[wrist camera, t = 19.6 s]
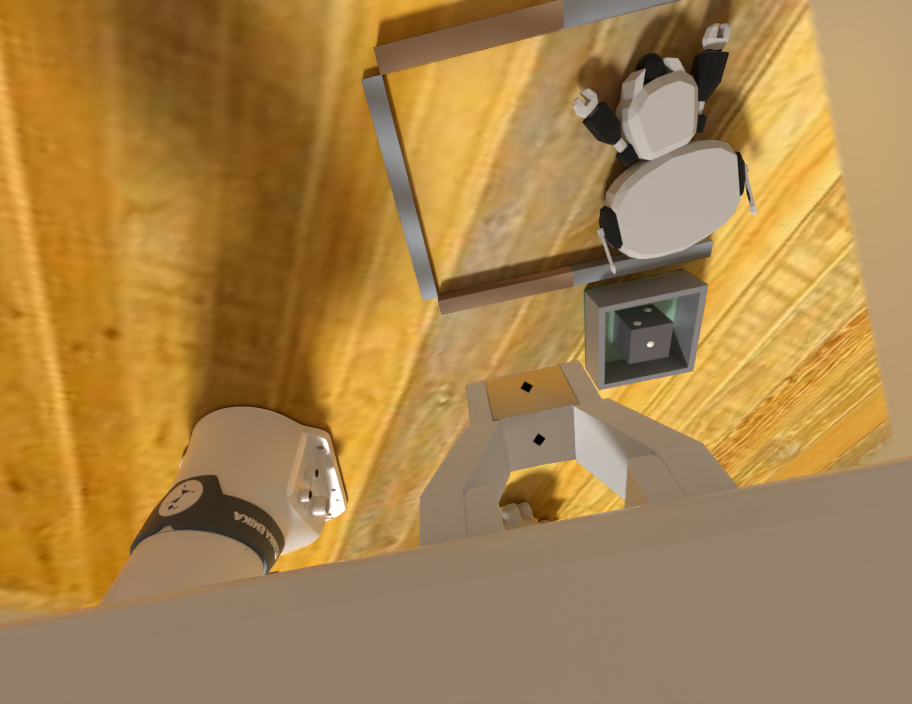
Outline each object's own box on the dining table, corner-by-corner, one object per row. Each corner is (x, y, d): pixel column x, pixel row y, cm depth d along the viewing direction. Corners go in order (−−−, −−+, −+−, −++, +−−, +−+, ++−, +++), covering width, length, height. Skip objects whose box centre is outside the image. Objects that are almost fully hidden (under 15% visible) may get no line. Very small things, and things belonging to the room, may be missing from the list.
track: (700, 251, 38) (710, 256, 36) (426, 311, 39) (426, 318, 38) (746, -46, 26) (762, -53, 25) (355, 54, 27) (352, 52, 26)
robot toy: (553, 100, 31) (598, 267, 38) (570, 94, 27) (617, 282, 34) (710, 20, 29) (727, 212, 36) (753, 1, 25) (764, 221, 32)
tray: (672, 350, 44) (693, 371, 41) (585, 368, 44) (598, 390, 41) (683, 268, 38) (708, 284, 35) (583, 290, 39) (599, 308, 36)
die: (649, 336, 42) (669, 356, 39) (612, 343, 42) (629, 364, 39) (653, 303, 40) (674, 322, 36) (614, 310, 40) (631, 330, 37)
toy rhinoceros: (523, 519, 64) (548, 573, 59) (476, 522, 56) (500, 585, 51) (554, 497, 61) (584, 551, 56) (509, 497, 53) (539, 561, 48)
